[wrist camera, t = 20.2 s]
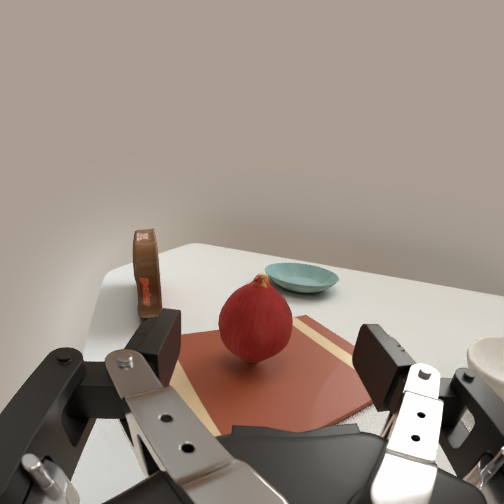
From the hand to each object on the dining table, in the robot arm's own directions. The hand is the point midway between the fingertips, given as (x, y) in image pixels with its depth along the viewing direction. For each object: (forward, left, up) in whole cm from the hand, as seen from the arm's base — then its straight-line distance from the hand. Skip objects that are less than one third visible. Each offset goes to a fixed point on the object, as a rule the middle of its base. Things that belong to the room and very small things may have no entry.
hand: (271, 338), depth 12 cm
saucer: (+23, +25, -9) cm, 35 cm away
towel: (+6, +7, -9) cm, 13 cm away
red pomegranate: (+5, +9, -8) cm, 13 cm away
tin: (-1, +24, -9) cm, 26 cm away
